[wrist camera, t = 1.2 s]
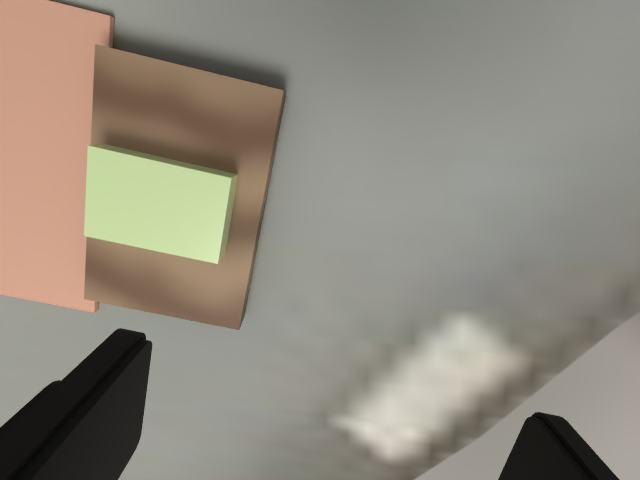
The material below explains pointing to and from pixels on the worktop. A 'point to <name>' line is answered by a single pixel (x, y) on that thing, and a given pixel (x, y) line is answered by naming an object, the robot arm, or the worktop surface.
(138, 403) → the robot arm
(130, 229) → the sponge
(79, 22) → the mat
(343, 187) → the worktop surface
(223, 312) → the plate
